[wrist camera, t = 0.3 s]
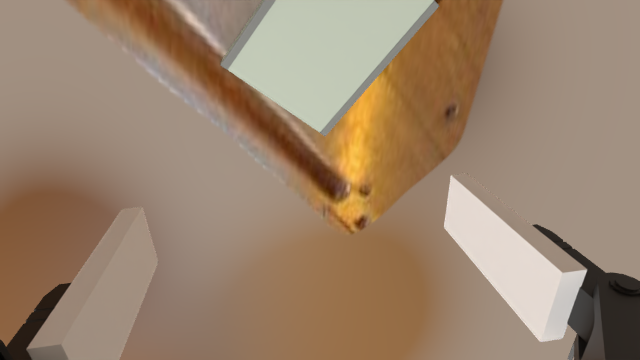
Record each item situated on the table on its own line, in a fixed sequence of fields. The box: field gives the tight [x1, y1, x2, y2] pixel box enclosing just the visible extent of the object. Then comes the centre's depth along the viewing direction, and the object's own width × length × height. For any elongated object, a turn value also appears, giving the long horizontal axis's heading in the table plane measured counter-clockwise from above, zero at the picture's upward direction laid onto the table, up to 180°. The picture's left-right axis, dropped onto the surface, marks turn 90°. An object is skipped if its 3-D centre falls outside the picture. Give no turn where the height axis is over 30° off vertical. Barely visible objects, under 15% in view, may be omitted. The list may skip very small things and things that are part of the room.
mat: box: [220, 0, 439, 136], centre depth 37 cm, size 18×14×1 cm
